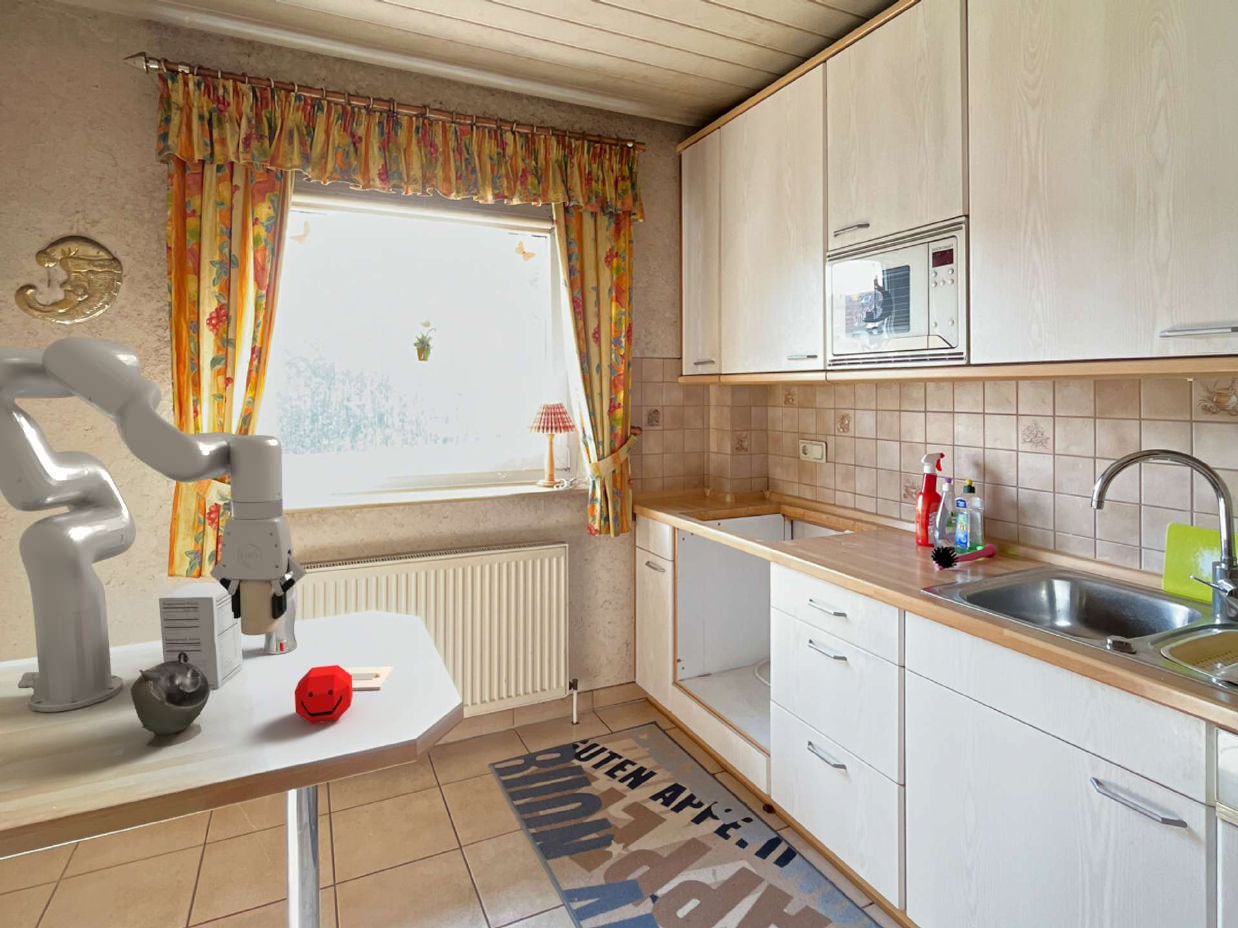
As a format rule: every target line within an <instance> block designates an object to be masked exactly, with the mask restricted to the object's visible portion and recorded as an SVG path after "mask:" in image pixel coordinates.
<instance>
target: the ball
mask: <svg viewBox="0 0 1238 928" xmlns="http://www.w3.org/2000/svg"><path fill="white" fill-rule="evenodd" d="M342 668H343V667H342V666H340V665H339V664H335V665H326V666H323V665H322V666H315V667H311V668H310V669H309V670H308V672H306V673H305V674H304V675H303V676H302V678H301V679H299V681H298V683H297V685H296V688H295V690H294V704H295V705H294V707H295V710H294V711H295V713H296V714H297V716H298V715H299V716H300V717H301V718H302V719H304V720H305V721H306V722H307V723H309V724H310V725H311V724H319V723H326V722H334V721H336V722H337V721H338V720H339V719H340V718H341V717H342V716H343V715H344V714H345V713H346V711H348V710H349V708H350V707H351V705H352V700H353V696H354V694H353V693H354V692H353V691H354V690H352V675H350V674H349V673H348V672H346V671H345V670H344V669H342Z"/></svg>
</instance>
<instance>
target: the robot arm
mask: <svg viewBox="0 0 1238 928" xmlns="http://www.w3.org/2000/svg"><path fill="white" fill-rule="evenodd" d="M142 368H143V367H142V363H141V360H140V358H139V356H138V355H137V353H136V352H135V351H134V350H133V349H132V348H131V347H129V346H127V345H126V344H124V343H122V342H118V341H115V340H112V339H111V340H108V339H100V338H90V337H82V336H71V337H70V336H69V337H64V338H59V339H56V340H54V341H53V342H52V343H49V345H48V346H46V348H44V349H43V348H32V347H20V346H9V345H0V492H1V495H2V496H3V497H4V499H5V501H6V502H7V503H8V504H9V505H10V506H11V507H12V508H13V509H15V510H18V511H21V512H29V513H31V512H40V511H47V510H53V509H58V508H63V507H66V508H67V509H68V511H67V512H62V513H57V514H53V515H50V516H45V517H43V518H41V519H39V520H36V521H35V522H33V523H32V524H30V525H29V526H28V527H26V528H25V530H24V532H23V533H22V535H21V536H20V539H19V542H18V543H19V545H18V546H19V547H18V548H19V549H18V550H19V554H20V558H21V562H22V563H23V568H24V569H25V571H26V575H27V577H28V578H27V579H28V582H29V587H30V593H31V600H32V601H31V602H32V603H31V604H32V611H33V622H34V630H35V643H36V644H35V645H36V646H35V647H36V654H37V666H38V668H37V669H38V671H30V672H27V671H26V672H24V673H23V674H22V676H21V679H20V680H19V681H18V684H17V687H18V689H32V690H33V694H32V695H31V696H30V697H29V699H28V706H29V709H32V710H33V711H35V712H36V711H37V712H43V713H45V712H46V713H52V712H55V713H56V712H64V711H70V710H75V709H79V708H83V707H88V706H91V705H93V704H96V703H99V702H102V701H105V700H107V699H109V698H112V697H113V696H115V695H117V694H118V693H119V692H120V691H122V689H123V688H124V680H123V678H122V677H121V676H118V675H116V674H115V675H114V674H112V665H111V653H110V641H109V640H110V639H109V626H108V625H109V624H108V615H107V613H108V612H107V602H106V600H107V599H106V593H105V588H104V585H103V583H102V580H101V579H100V577H99V576H98V574H97V573H96V571H95V570H94V567H93V564H95V563H98V562H99V563H100V562H102V561H104V560H108V559H110V558H114V557H117V556H119V555H121V554H124V553H125V552H126V551H128V550H129V549H130V548H131V547H132V545H133V544H134V542H135V539H136V536H137V535H136V534H137V528H136V524H135V521H134V518H133V516H132V514H131V512H130V510H129V507H128V505H127V504H126V501H125V500H124V498H123V495H122V494H121V491H120V489H119V488H118V486H117V484H116V482H115V479H114V477H113V476H112V475H111V473H110V471H109V469H108V468H107V466H106V465H105V464H104V463H103V462H102V461H101V460H100V459H99V458H98V457H96V456H94V455H92V454H91V453H88V452H85V451H80V450H66V451H57V450H55V449H54V448H53V446H52V445H51V443H50V442H49V441H48V439H47V437H46V435H45V433H44V431H43V428H42V427H41V425H40V424H39V422H37V421H36V419H35V418H34V417H33V416H31V414H29V412H27V411H25V410H24V409H23V408H21V406H19V405H18V404H17V403H16V402H15V401H16V399H63V398H64V399H65V398H73V397H77V398H79V399H80V400H81V401H83V402H84V403H85V404H87V405H89V406H90V407H92V408H93V409H94V410H96V411H98V412H99V413H100V414H101V415H103V416H104V417H106V418H107V419H109V420H110V421H112V422H113V423H114V424H116V428H117V433H118V435H119V437H120V439H121V440H122V442H123V444H124V445H125V447H126V449H127V450H128V451H129V452H130V453H131V454H132V455H133V456H134V457H136V458H137V459H138V460H139V461H141V462H143V463H144V464H145V465H146V466H148V467H150V468H151V469H153V470H154V471H156V472H157V473H159V474H160V475H162V476H164V477H165V478H167V479H170V480H173V481H176V482H179V483H186V484H187V483H189V484H190V483H195V482H196V483H197V482H201V481H207V480H211V479H218V478H224V477H228V476H229V479H230V480H229V482H230V484H229V485H230V500H229V502H224V503H223V504H222V510H223V511H226V512H227V511H228V512H229V516H231V517H229V518H226V519H225V523H224V526H223V532H222V539H221V546H220V547H221V548H220V559H219V560H220V561H219V562H217V564H216V565H214V567H213V568H212V569H211V570H210V572H209V574H210V576H211V577H213V578H214V579H215V580H216V581H217V582H218V583H220V584H221V585H222V586H223V587H224V588H225V589H226V590H227V591H228V594H229V595H231V607H232V612H234V619H238V618H240V619H241V606H240V582H241V580H257V581H271V583H272V586H273V588H274V591H275V595H274V596H273V597H272V618H273V619H278V618H280V617H281V616H282V615H283V614H284V613H285V612H286V609H287V591H288V590H289V589H290V588H291V587H292V586H293V585H294V584H295V583H296V584H297V583H298V582H299V581H300V580H301V579H302V578H304V577H305V576H306V575H307V570H306V569H304V567H303V566H302V565H301V564H300V563H299V562H298V561H297V559H295V558H294V553H293V552H294V551H293V542H292V536H291V529H290V525H289V522H288V519H287V516H284V515H283V514H284V511H283V510H284V509H283V508H284V507H283V505H284V504H283V502H284V501H283V461H282V459H283V457H282V456H283V455H282V443H281V441H280V439H279V438H277V437H276V436H273V435H272V436H271V435H259V434H258V435H257V434H255V435H253V434H249V435H241V434H236V433H231V432H221V431H220V432H218V431H215V432H199V433H189V434H188V433H185V432H183V431H181V430H180V429H179V428H177V427H175V426H174V425H173V424H172V423H169V422H168V421H167V420H166V419H164V418H163V417H162V416H160V415H159V414H158V413H157V412H156V411H157V409H158V408H159V405H160V403H161V400H162V392H161V389H160V388H159V386H158V385H157V384H156V383H154V382H153V381H152V380H149V379H148V378H147V377H146V376H144V375H142V372H143V371H142ZM291 572H292V574H293V576H292V577H290V578H289V579H288V580H287V579H286V577H285V574H287V573H291Z"/></svg>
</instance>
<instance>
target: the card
mask: <svg viewBox="0 0 1238 928" xmlns="http://www.w3.org/2000/svg"><path fill="white" fill-rule="evenodd" d="M341 668H342V669H344V670H345V671H346V672H348V673H349V674H350V675H352V691H372V690H373V691H375V690H376V691H377V690H382V688H383V687H384V685H385V683H386V681H387V680H388V679H389V677H390V676H391V674H392V673H393V671H394V670H395V666H394V665H393V666H363V667H362V666H359V667H357V666H356V667H355V666H353V667H352V666H350V667H341Z"/></svg>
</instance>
